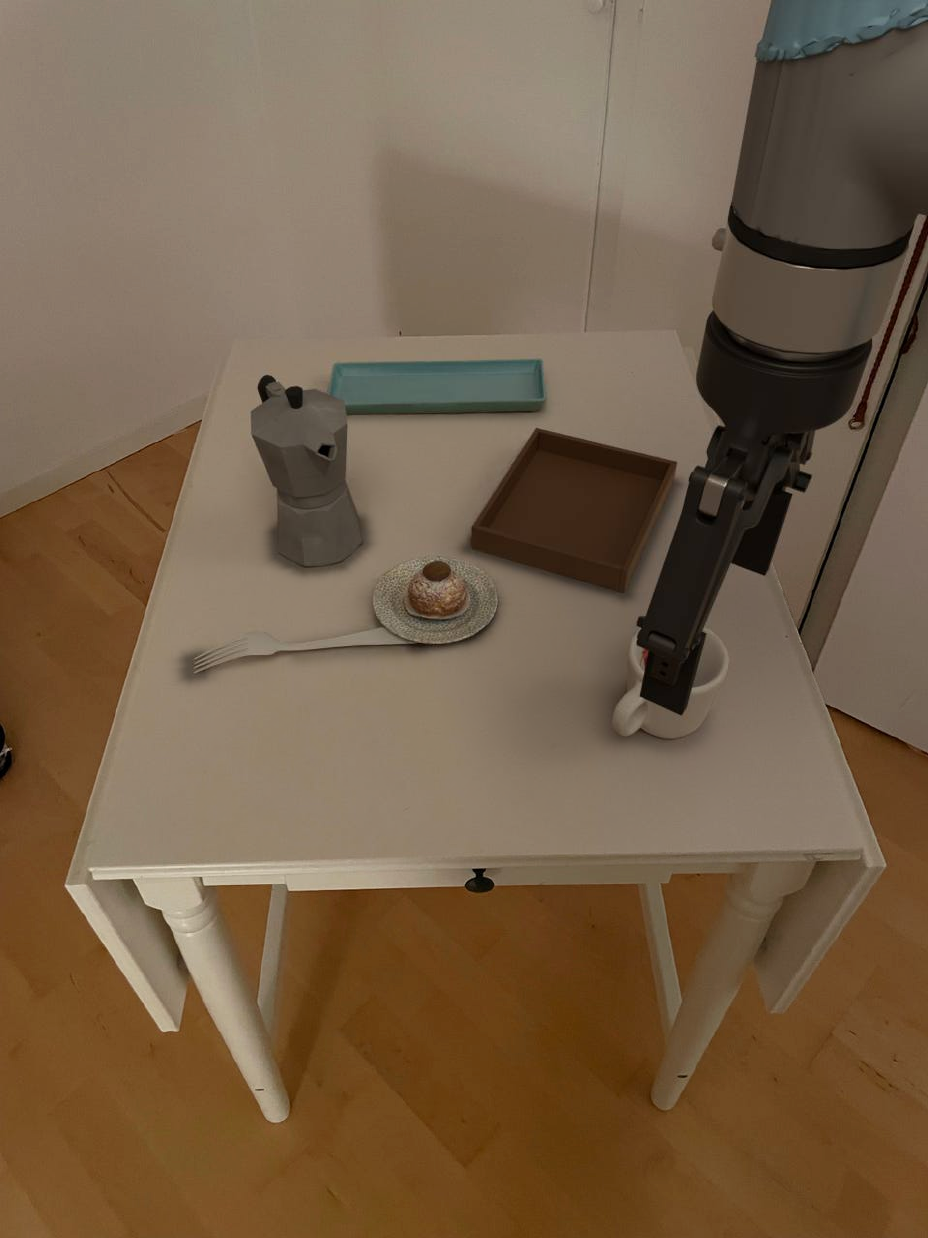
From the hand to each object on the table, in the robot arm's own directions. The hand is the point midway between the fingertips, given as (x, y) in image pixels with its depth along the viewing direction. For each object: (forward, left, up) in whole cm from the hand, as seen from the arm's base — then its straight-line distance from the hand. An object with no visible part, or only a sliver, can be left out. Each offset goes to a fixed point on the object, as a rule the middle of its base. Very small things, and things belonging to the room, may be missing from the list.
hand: (707, 629), depth 58 cm
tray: (+18, -31, -21) cm, 41 cm away
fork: (+34, -3, -21) cm, 40 cm away
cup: (+3, -8, -21) cm, 23 cm away
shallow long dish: (+41, -45, -21) cm, 64 cm away
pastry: (+26, -12, -21) cm, 35 cm away
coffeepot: (+42, -17, -21) cm, 50 cm away
